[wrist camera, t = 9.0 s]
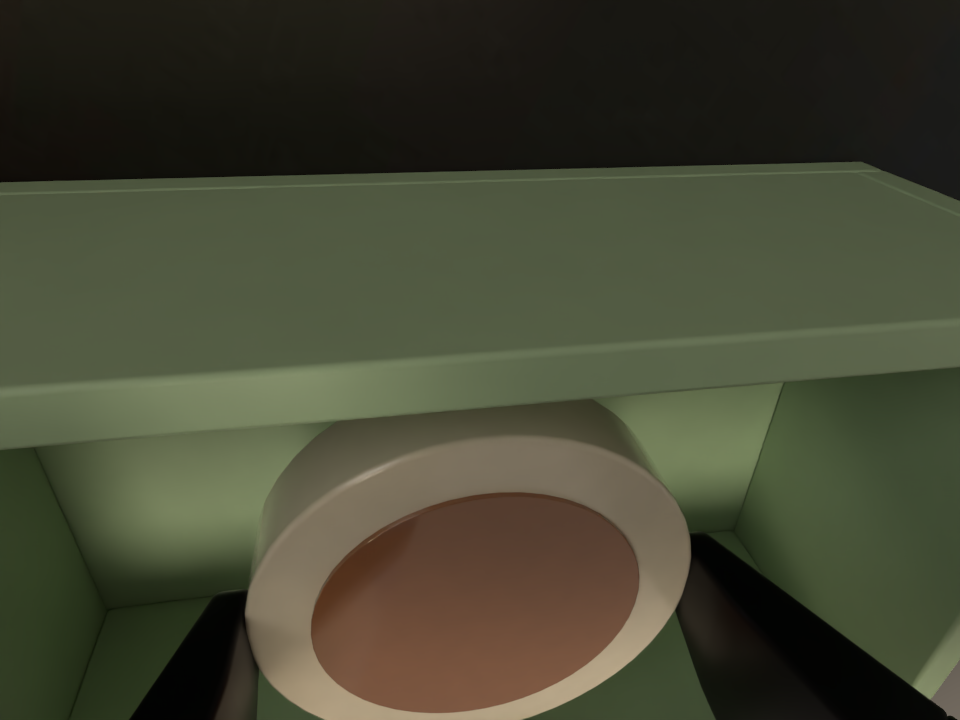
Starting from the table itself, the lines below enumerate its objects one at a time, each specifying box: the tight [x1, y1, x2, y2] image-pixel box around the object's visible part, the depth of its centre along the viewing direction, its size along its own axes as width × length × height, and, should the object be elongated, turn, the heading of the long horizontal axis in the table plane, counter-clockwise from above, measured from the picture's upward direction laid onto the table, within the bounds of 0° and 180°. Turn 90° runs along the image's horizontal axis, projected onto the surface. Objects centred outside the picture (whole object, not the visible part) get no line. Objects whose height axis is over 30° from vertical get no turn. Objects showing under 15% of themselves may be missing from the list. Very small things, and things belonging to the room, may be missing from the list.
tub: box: [0, 162, 960, 720], centre depth 10 cm, size 15×9×6 cm, turn 88°
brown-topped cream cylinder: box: [244, 399, 691, 720], centre depth 9 cm, size 6×6×2 cm
